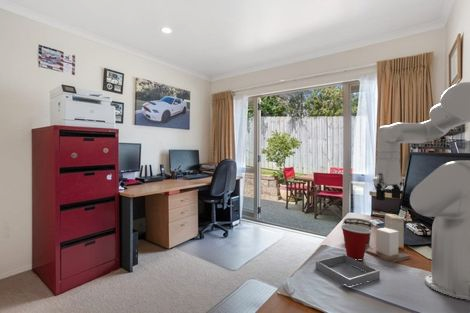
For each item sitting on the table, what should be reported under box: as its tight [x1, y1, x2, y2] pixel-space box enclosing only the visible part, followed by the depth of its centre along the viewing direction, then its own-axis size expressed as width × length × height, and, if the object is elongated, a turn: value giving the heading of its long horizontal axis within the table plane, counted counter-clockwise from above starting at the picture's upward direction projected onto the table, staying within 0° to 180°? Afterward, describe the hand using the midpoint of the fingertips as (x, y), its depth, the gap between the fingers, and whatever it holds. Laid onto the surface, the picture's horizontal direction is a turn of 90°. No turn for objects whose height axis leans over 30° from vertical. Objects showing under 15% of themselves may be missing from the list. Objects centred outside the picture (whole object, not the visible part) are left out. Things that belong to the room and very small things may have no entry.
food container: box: [342, 217, 374, 246], centre depth 113 cm, size 12×6×10 cm, turn 65°
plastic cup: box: [340, 223, 372, 260], centre depth 95 cm, size 11×11×12 cm
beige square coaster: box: [365, 246, 411, 264], centre depth 97 cm, size 11×11×1 cm
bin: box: [315, 254, 381, 287], centre depth 82 cm, size 14×14×2 cm
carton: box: [375, 227, 399, 256], centre depth 98 cm, size 6×6×9 cm
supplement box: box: [384, 213, 405, 249], centre depth 109 cm, size 8×5×13 cm, turn 168°
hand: (388, 199), depth 97 cm, fingers open, 9 cm apart
